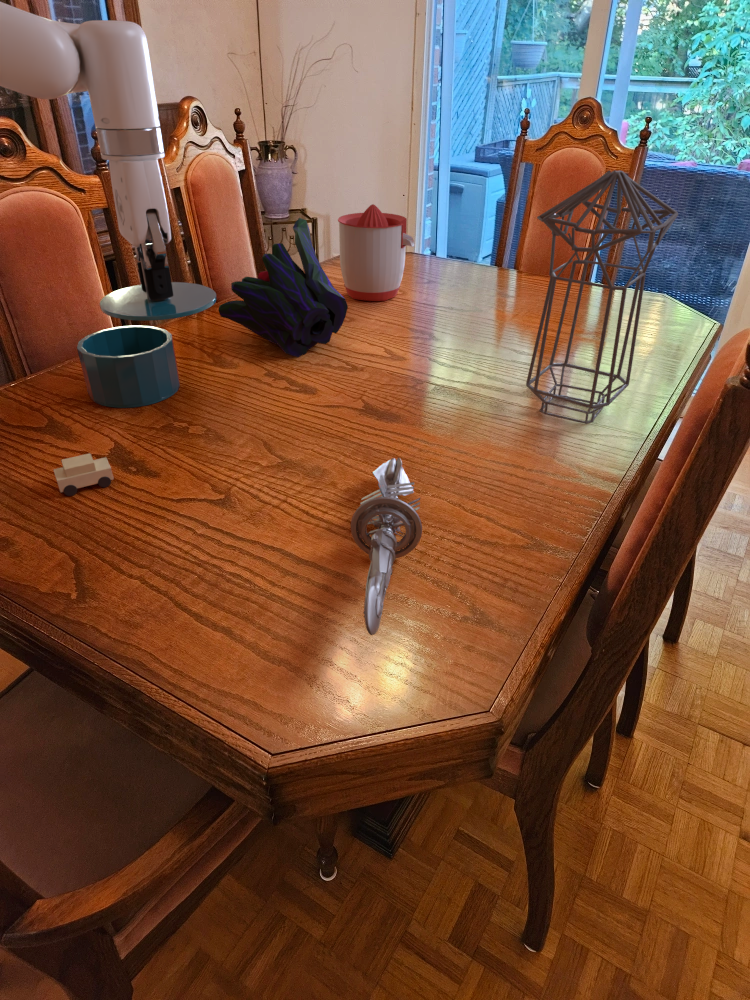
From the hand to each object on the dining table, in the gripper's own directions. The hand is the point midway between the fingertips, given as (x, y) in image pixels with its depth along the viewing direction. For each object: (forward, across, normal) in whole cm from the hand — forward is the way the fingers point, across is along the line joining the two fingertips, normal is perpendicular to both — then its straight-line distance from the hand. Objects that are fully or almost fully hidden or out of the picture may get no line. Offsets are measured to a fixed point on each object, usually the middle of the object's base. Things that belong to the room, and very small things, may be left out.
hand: (157, 292), depth 92 cm
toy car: (+20, +12, -16) cm, 28 cm away
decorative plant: (+20, -26, +29) cm, 44 cm away
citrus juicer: (+20, -42, +59) cm, 75 cm away
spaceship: (+20, +44, +11) cm, 50 cm away
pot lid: (+1, 0, 0) cm, 1 cm away
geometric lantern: (+20, +26, +56) cm, 65 cm away
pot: (+20, -15, -3) cm, 25 cm away
